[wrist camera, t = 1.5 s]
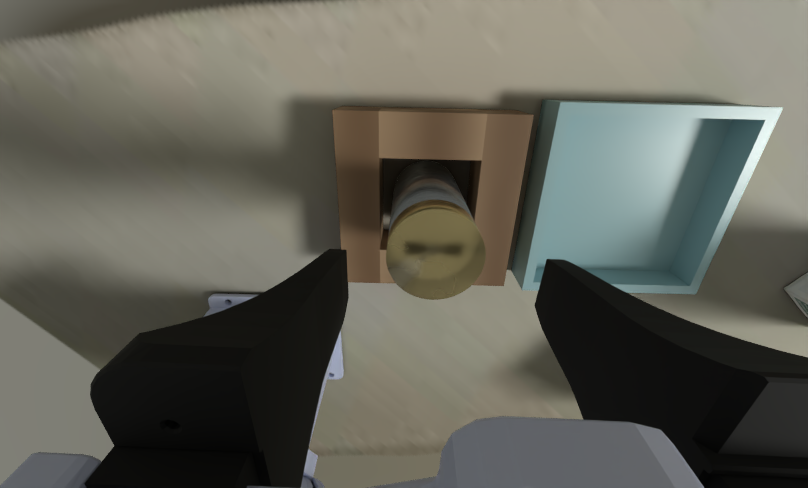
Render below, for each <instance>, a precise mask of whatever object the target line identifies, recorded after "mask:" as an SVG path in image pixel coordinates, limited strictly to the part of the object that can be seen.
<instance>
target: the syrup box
mask: <svg viewBox="0 0 808 488" xmlns="http://www.w3.org/2000/svg"><path fill="white" fill-rule="evenodd" d="M784 290H785V291H786V292H787V293H788V294H789V296H790V297H791V298H792V300H793V301H794V302H795V304H796V305H797V306H798V307H799V309H800V310H801V311H802V312H803V313H804V314H805V316H806V317H807V318H808V272H807V273H806V274H805V275H803V276H801V277H800V278H798V279H797V280H795V281H794V282H793V283H791V284H790V285H788V286H786V287H785V288H784Z"/></svg>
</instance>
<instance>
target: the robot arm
mask: <svg viewBox="0 0 808 488" xmlns="http://www.w3.org/2000/svg"><path fill="white" fill-rule="evenodd" d="M227 299H228V300H231V302H229V301H228V300H227ZM347 302H348V273H347V250H341V249H329V250H327V251H326V252H324V253H323V254H322V255H320V256H319V257H318V258H316V259H315V260H314V261H312V262H311V263H310V264H308V265H307V266H305V267H304V268H303V269H301V270H300V271H299V272H297V273H295V274H294V275H292V276H291V277H289V278H288V279H286V280H285V281H283V282H281V283H280V284H278V285H276V286H275V287H273V288H271V289H269V290H267V291H266V292H264V293H262V294H260V295H252V294H212V295H211V296H210V297H209V299H208V303H209V306H210V309H209V310H208V311H207V313H206V314H205V315H204V316H203V317H202V318H198V319H195V320H192V321H188V322H185V323H181V324H177V325H173V326H169V327H165V328H161V329H157V330H153V331H148V332H144V333H139V334H138V335H137V336H136V337H135V338H134V339H133V340H132V341H131V342H130V343H129V344H128V345H127V346H126V347H125V348H124V349H122V350H121V351H120V352H119V353H118V354H117V355H116V356H115V357H114V358H113V359H112V360H111V361H110V362H109V363H108V364H107V365H106V366H105V367H104V368H102V369H101V370H100V371H99V372H98V373H97V374H96V376H95V378H94V379H93V381H92V383H91V392H90V396H91V400H92V403H93V405H94V408H95V411H96V412H97V414H98V416H99V418H100V420H101V421H102V424H103V425H104V427H105V429H106V431H107V433H108V435H109V437H110V438H111V440H112V442H113V444H114V447H113V449H112V450H111V451H110V452H109V453H108V455H107V456H106V457H105V459H104V460H103V461H102V462H101V461H100V460H99V459H96V458H95V457H93V456H89V455H84V454H65V453H44V452H38V453H34V454H31V455H30V456H29V457H28V458H27V460H25V462H23V463H22V464H21V465H20V466H19V467H18V468H17V469H16V470H15V471H14V472H13V473H12V474H11V475H10V476H9V477H8V478H7V479H6V480H5V481H4V482H3V483H2V484H1V485H0V488H325V486H324V485H323V483H322V482H321V481H320V480H318V479H315V478H313V475H314V471H315V466H316V462H317V458H318V456H317V455H316V454H315V453H313V452H312V451H310V450H309V449H308V448H309V444H310V440H311V437H312V433H313V429H314V426H315V422H316V418H317V414H318V411H319V407H320V403H321V400H322V396H323V392H324V389H325V385H326V381H327V379H341V378H342V377H343V374H344V368H343V354H342V340H341V327H342V324H343V321H344V317H345V312H346V307H347ZM535 308H536V311H537V315H538V318H539V321H540V324H541V327H542V330H543V332H544V334H545V336H546V338H547V340H548V342H549V344H550V346H551V348H552V350H553V352H554V354H555V356H556V358H557V360H558V362H559V364H560V366H561V368H562V370H563V372H564V374H565V376H566V378H567V380H568V382H569V384H570V386H571V388H572V391H573V393H574V395H575V398H576V400H577V403H578V406H579V408H580V411H581V414H582V417H583V419H584V420H579V419H557V418H536V417H514V416H499V417H491V418H484V419H476V420H474V421H473V422H471V423H469V424H467V425H465V426H463V427H462V428H460V429H458V430H456V431H455V432H454V433H452V435H451V436H450V438H449V440H448V441H447V443H446V445H445V446H444V448H443V450H442V453H441V460H440V468H439V472H438V474H437V476H435V477H429V478H423V479H417V480H411V481H405V482H398V483H392V484H386V485H380V486H374V487H368V488H808V358H807V357H803V356H799V355H795V354H791V353H787V352H783V351H779V350H775V349H772V348H768V347H765V346H761V345H758V344H755V343H751V342H748V341H744V340H741V339H738V338H735V337H732V336H729V335H726V334H723V333H720V332H717V331H714V330H711V329H709V328H706V327H703V326H700V325H697V324H695V323H692V322H690V321H687V320H684V319H682V318H679V317H677V316H675V315H672V314H670V313H668V312H665V311H663V310H661V309H658V308H656V307H654V306H652V305H650V304H648V303H646V302H644V301H642V300H640V299H638V298H636V297H634V296H632V295H630V294H628V293H626V292H624V291H622V290H620V289H618V288H617V287H615V286H613V285H611V284H609V283H607V282H606V281H604V280H602V279H600V278H599V277H597V276H595V275H593V274H591V273H590V272H588V271H586V270H584V269H582V268H581V267H579V266H577V265H575V264H573V263H571V262H569V261H566V260H562V259H547V260H546V264H545V267H544V271H543V275H542V279H541V283H540V287H539V291H538V295H537V298H536V302H535ZM331 373H333V374H331Z"/></svg>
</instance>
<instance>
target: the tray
mask: <svg viewBox="0 0 808 488" xmlns="http://www.w3.org/2000/svg"><path fill="white" fill-rule="evenodd" d="M782 109H783V107H769V106H755V105H741V104H704V103H663V102H623V101H582V100H543V101H542V106H541V112H540V117H539V123H538V128H537V134H536V139H535V145H534V150H533V156H532V161H531V166H530V172H529V177H528V183H527V188H526V194H525V199H524V205H523V210H522V216H521V221H520V227H519V232H518V238H517V243H516V249H515V254H514V259H513V265H512V270H511V271H512V272H513V274H514V276H515V278H516V280H517V282H518V283H519V285H520V287H521V289H522V290H539V287H540V283H541V279H542V275H543V271H544V267H545V264H546V260H547V259H562V260H566V261H569V262H571V263H573V264H575V265H577V266H579V267H581V268H582V269H584V270H586V271H588V272H590V273H591V274H593V275H595V276H597V277H599V278H600V279H602V280H604V281H606V282H607V283H609V284H611V285H613V286H615V287H617V288H618V289H620V290H622V291H624V292H626V293H664V294H696V293H697V291H698V289H699V286H700V284H701V282H702V280H703V278H704V276H705V274H706V271H707V269H708V267H709V265H710V263H711V261H712V259H713V257H714V254H715V252H716V250H717V248H718V246H719V244H720V242H721V239H722V237H723V235H724V233H725V231H726V229H727V227H728V225H729V222H730V220H731V218H732V216H733V214H734V212H735V210H736V207H737V205H738V203H739V201H740V199H741V197H742V195H743V193H744V190H745V188H746V186H747V184H748V182H749V180H750V178H751V175H752V173H753V171H754V169H755V167H756V165H757V163H758V161H759V158H760V156H761V154H762V152H763V150H764V148H765V146H766V143H767V141H768V139H769V137H770V135H771V133H772V131H773V128H774V126H775V124H776V122H777V120H778V118H779V116H780V114H781V111H782Z"/></svg>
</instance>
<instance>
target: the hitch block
mask: <svg viewBox="0 0 808 488" xmlns="http://www.w3.org/2000/svg"><path fill="white" fill-rule="evenodd" d="M332 113H333V129H334V144H335V160H336V176H337V191H338V207H339V222H340V238H341V250H347V273H348V282H364V283H395V281H394V280H393V279H392V277H391V275H390V273H389V271H388V268H387V263H386V250H387V242H388V234H389V230H383V158H399V159H440V160H471V165H470V174H469V184H468V193H467V203H466V204H467V206H468V209H469V211H470V213H471V215H472V217H473V219H474V221H475V223H476V225H477V228H478V230H479V232H480V234H481V236H482V238H483V241H484V244H485V249H486V259H485V264H484V267H483V270H482V272H481V274H480V276H479V277H478V278H477V280H476V281H475V282H474V283H473V284H472V285H488V286H504V282H505V276H506V270H507V265H508V259H509V253H510V247H511V242H512V236H513V230H514V225H515V219H516V213H517V208H518V202H519V196H520V190H521V185H522V179H523V173H524V168H525V162H526V156H527V151H528V145H529V139H530V134H531V128H532V122H533V116H534V115H532V114H528V113H525V112H521V111H517V110H487V109H446V108H406V107H365V106H341V107H339V108H336V109H334V110H332Z"/></svg>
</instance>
